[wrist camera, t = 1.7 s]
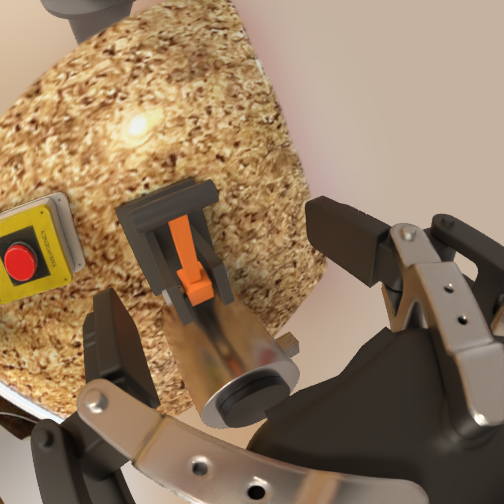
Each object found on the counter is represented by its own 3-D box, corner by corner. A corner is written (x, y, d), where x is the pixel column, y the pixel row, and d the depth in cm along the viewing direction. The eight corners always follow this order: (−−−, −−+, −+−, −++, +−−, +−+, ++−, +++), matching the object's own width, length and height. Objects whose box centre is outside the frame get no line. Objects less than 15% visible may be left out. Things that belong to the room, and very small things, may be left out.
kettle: (146, 301, 33) (188, 414, 20) (240, 257, 37) (322, 341, 24) (182, 359, 41) (227, 448, 28) (256, 322, 45) (318, 397, 32)
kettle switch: (125, 201, 14) (135, 230, 13) (204, 169, 16) (222, 194, 14) (168, 291, 24) (178, 313, 23) (216, 269, 26) (227, 289, 25)
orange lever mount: (115, 208, 26) (121, 260, 17) (190, 177, 29) (236, 210, 20) (153, 291, 33) (179, 359, 24) (215, 262, 36) (260, 318, 27)
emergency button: (86, 287, 24) (-16, 318, 18) (87, 266, 27) (-7, 296, 21) (58, 201, 19) (-51, 246, 13) (65, 189, 22) (-36, 229, 16)
